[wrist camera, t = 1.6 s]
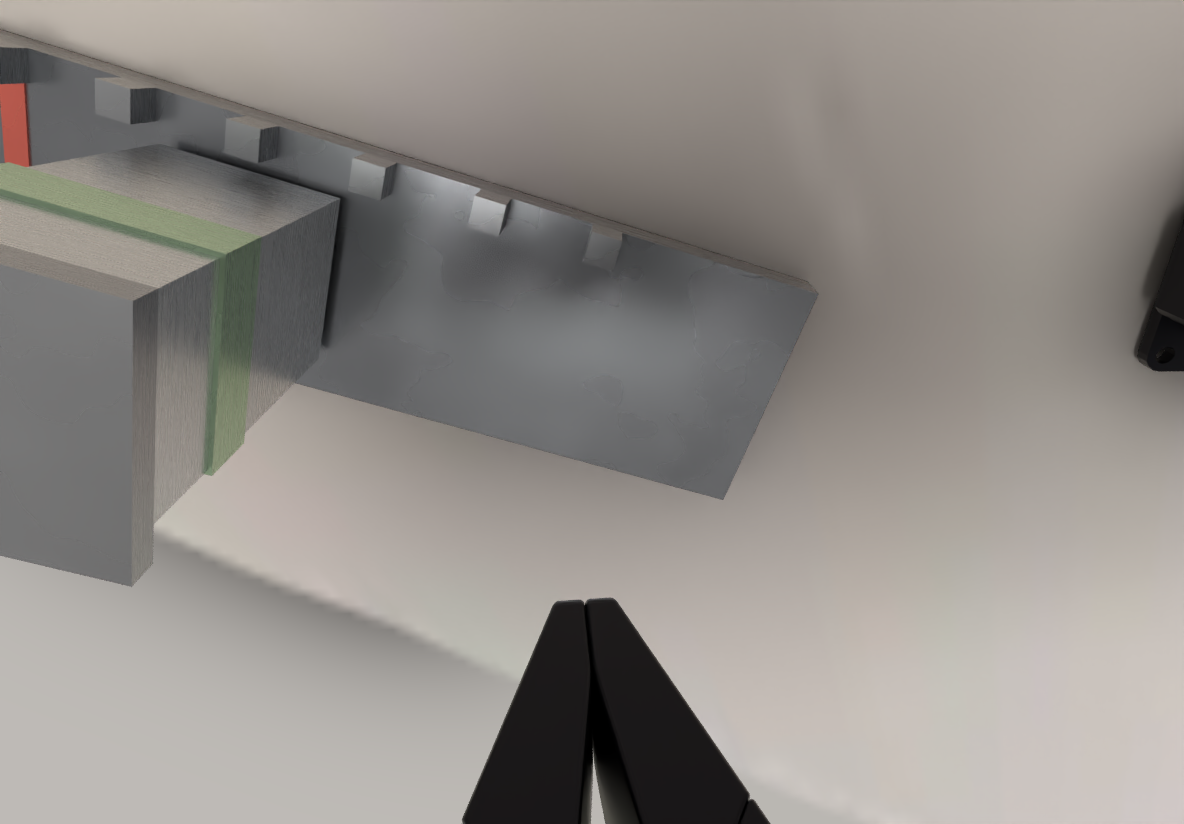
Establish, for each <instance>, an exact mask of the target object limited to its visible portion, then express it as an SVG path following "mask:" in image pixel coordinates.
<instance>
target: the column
mask: <svg viewBox="0 0 1184 824" xmlns="http://www.w3.org/2000/svg"><path fill="white" fill-rule="evenodd" d="M339 205H340V198H337V197H334V196H331V195H328V194H324V193H321V192H318V191H314V190H311V189H308V188H304V187H301V186H298V185H295V184H291V183H288V182H285V181H281V180H278V179H275V178H271V177H268V176H265V175H262V174H258V173H255V172H252V171H248V170H245V169H242V168H238V167H235V166H232V165H229V164H225V163H222V162H219V161H215V160H212V159H209V158H205V157H202V156H199V155H196V154H192V153H189V152H186V151H182V150H179V149H176V148H172V147H169V146H166V145H163V144H155V145H149V146H144V147H138V148H132V149H127V150H121V151H115V152H110V153H104V154H98V155H93V156H87V157H81V158H76V159H70V160H64V161H59V162H53V163H47V164H42V165H36V166H30V167H23V166H20V165H17V164H13V163H10V162H7V163H1V164H0V556H4V557H8V558H13V559H17V560H21V561H25V562H30V563H34V564H38V565H43V566H46V567H51V568H55V569H59V570H63V571H67V572H72V573H76V574H80V575H84V576H89V577H93V578H98V579H101V580H106V581H110V582H114V583H118V584H122V585H127V586H133V585H134V583H135V582H136V581H137V580H138V579H139V578H140V577H141V576H142V575H143V574H144V573H145V572H146V570H147V569H148V568H149V567H150V566H151V565H152V564H153V526H154V523H155V522H156V521H157V520H158V519H159V518H160V517H161V516H162V515H163V514H164V513H165V512H166V511H167V510H168V509H169V508H170V507H171V506H172V505H173V504H174V503H175V502H176V501H177V500H178V499H179V498H180V497H181V496H182V495H183V494H184V493H185V492H186V491H187V490H188V489H189V488H190V487H191V486H192V485H193V484H194V483H195V482H196V481H197V480H198V479H199V478H200V477H201V476H202V475H203V474H207V475H210V476H212V475H213V474H214V473H215V472H216V471H217V470H218V469H219V468H220V467H221V466H222V465H223V464H224V463H225V462H226V461H227V460H228V459H229V458H230V457H231V456H232V455H233V454H234V453H235V452H236V451H237V449H238V448H239V447H240V446H241V445H242V444H243V443H244V436H245V432H246V431H247V430H248V429H249V428H250V427H251V426H252V425H253V424H254V423H255V422H256V421H257V420H258V419H259V418H260V417H261V416H262V415H263V414H264V413H265V412H266V411H267V410H268V409H269V408H270V407H271V406H272V405H273V404H274V403H275V402H276V401H277V400H278V399H279V398H280V397H281V396H282V395H283V394H284V393H285V392H286V391H287V390H288V389H289V388H290V387H291V386H292V385H293V384H294V383H295V382H296V381H297V380H298V379H299V378H300V377H301V376H302V375H303V374H304V373H305V372H306V371H307V370H308V369H309V368H310V367H311V366H312V365H313V364H314V363H315V362H316V361H317V360H318V359H319V354H320V346H321V339H322V332H323V324H324V317H325V309H326V302H327V294H328V287H329V279H330V272H331V264H332V257H333V250H334V242H335V235H336V227H337V220H338V212H339Z"/></svg>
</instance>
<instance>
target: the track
mask: <svg viewBox="0 0 1184 824" xmlns="http://www.w3.org/2000/svg"><path fill="white" fill-rule="evenodd" d="M155 144H163V145H166V146H169V147H172V148H176V149H179V150H182V151H186V152H189V153H192V154H196V155H199V156H202V157H205V158H209V159H212V160H215V161H219V162H222V163H225V164H229V165H232V166H235V167H238V168H242V169H245V170H248V171H252V172H255V173H258V174H262V175H265V176H268V177H271V178H275V179H278V180H281V181H285V182H288V183H291V184H295V185H298V186H301V187H304V188H308V189H311V190H314V191H318V192H321V193H324V194H328V195H331V196H334V197H337V198H340V205H339V212H338V220H337V227H336V235H335V242H334V250H333V257H332V264H331V272H330V279H329V287H328V294H327V302H326V309H325V317H324V324H323V332H322V339H321V346H320V354H319V359H318V360H317V361H316V362H315V363H314V364H313V365H312V366H311V367H310V368H309V369H308V370H307V371H306V372H305V373H304V374H303V375H302V376H301V377H300V378H299V379H298V380H297V381H296V382H295V383H297V384H301V385H304V386H308V387H312V388H315V389H319V390H323V391H326V392H330V393H334V394H337V395H341V396H345V397H348V398H352V399H356V400H359V401H363V402H367V403H370V404H374V405H378V406H381V407H385V408H389V409H392V410H396V411H400V412H403V413H407V414H411V415H414V416H418V417H422V418H425V419H429V420H433V421H436V422H440V423H444V424H447V425H451V426H454V427H458V428H462V429H465V430H469V431H473V432H476V433H480V434H484V435H487V436H491V437H495V438H498V439H502V440H506V441H509V442H513V443H517V444H520V445H524V446H528V447H531V448H535V449H539V450H542V451H546V452H550V453H553V454H557V455H561V456H564V457H568V458H572V459H575V460H579V461H583V462H586V463H590V464H594V465H597V466H601V467H605V468H608V469H612V470H616V471H619V472H623V473H627V474H630V475H634V476H638V477H641V478H645V479H649V480H652V481H656V482H659V483H663V484H667V485H670V486H674V487H678V488H681V489H685V490H689V491H692V492H696V493H700V494H703V495H707V496H711V497H714V498H718V499H722V500H723V499H724V497H725V495H726V493H727V490H728V488H729V486H730V484H731V482H732V480H733V477H734V475H735V473H736V471H737V469H738V467H739V465H740V462H741V460H742V458H743V456H744V454H745V452H746V449H747V447H748V445H749V443H750V441H751V439H752V436H753V434H754V432H755V430H756V428H757V426H758V423H759V421H760V419H761V417H762V415H763V413H764V410H765V408H766V406H767V404H768V402H769V400H770V397H771V395H772V393H773V391H774V389H775V387H776V384H777V382H778V380H779V378H780V376H781V374H782V371H783V369H784V367H785V365H786V363H787V361H788V358H789V356H790V354H791V352H792V350H793V348H794V345H795V343H796V341H797V339H798V337H799V335H800V332H801V330H802V328H803V326H804V324H805V322H806V319H807V317H808V315H809V313H810V311H811V309H812V306H813V304H814V302H815V300H816V298H817V296H818V293H817V292H816V291H815V290H814V289H813V287H812V286H811V285H810V284H809V283H808V282H807V281H804V280H801V279H797V278H794V277H791V276H788V275H785V274H781V273H778V272H775V271H772V270H769V269H765V268H762V267H759V266H756V265H753V264H749V263H746V262H743V261H740V260H737V259H733V258H730V257H727V256H724V255H721V254H717V253H714V252H711V251H708V250H705V249H701V248H698V247H695V246H692V245H689V244H685V243H682V242H679V241H676V240H673V239H669V238H666V237H663V236H660V235H657V234H653V233H650V232H647V231H644V230H641V229H637V228H634V227H631V226H628V225H625V224H621V223H618V222H615V221H612V220H609V219H605V218H602V217H599V216H596V215H593V214H589V213H586V212H583V211H580V210H577V209H573V208H570V207H567V206H564V205H561V204H557V203H554V202H551V201H548V200H545V199H541V198H538V197H535V196H532V195H529V194H525V193H522V192H519V191H516V190H513V189H509V188H506V187H503V186H500V185H497V184H493V183H490V182H487V181H484V180H481V179H477V178H474V177H471V176H468V175H465V174H461V173H458V172H455V171H452V170H449V169H445V168H442V167H439V166H436V165H433V164H429V163H426V162H423V161H420V160H417V159H413V158H410V157H407V156H404V155H401V154H397V153H394V152H391V151H388V150H385V149H381V148H378V147H375V146H372V145H369V144H365V143H362V142H359V141H356V140H353V139H349V138H346V137H343V136H340V135H337V134H333V133H330V132H327V131H324V130H321V129H317V128H314V127H311V126H308V125H305V124H301V123H298V122H295V121H292V120H289V119H285V118H282V117H279V116H276V115H273V114H269V113H266V112H263V111H260V110H257V109H253V108H250V107H247V106H244V105H241V104H237V103H234V102H231V101H228V100H225V99H221V98H218V97H215V96H212V95H209V94H205V93H202V92H199V91H196V90H193V89H189V88H186V87H183V86H180V85H177V84H173V83H170V82H167V81H164V80H161V79H157V78H154V77H151V76H148V75H145V74H141V73H138V72H135V71H132V70H129V69H125V68H122V67H119V66H116V65H113V64H110V63H106V62H103V61H100V60H97V59H94V58H90V57H87V56H84V55H81V54H78V53H74V52H71V51H68V50H65V49H62V48H58V47H55V46H52V45H49V44H46V43H42V42H39V41H36V40H33V39H30V38H26V37H23V36H20V35H17V34H14V33H10V32H7V31H4V30H1V29H0V164H1V163H7V162H10V163H13V164H17V165H20V166H23V167H30V166H36V165H42V164H47V163H53V162H59V161H64V160H70V159H76V158H81V157H87V156H93V155H98V154H104V153H110V152H115V151H121V150H127V149H132V148H138V147H144V146H149V145H155Z"/></svg>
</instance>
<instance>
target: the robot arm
mask: <svg viewBox="0 0 1184 824" xmlns="http://www.w3.org/2000/svg"><path fill="white" fill-rule="evenodd" d="M1163 348H1165V351H1164V352H1163V354H1162V355H1161V356H1159V357H1158V358H1156V355H1157V354H1158V352H1159V351H1160V350H1162V349H1163ZM1138 359H1139V362H1141V363H1142V364H1143V365H1145V366H1147V367H1148V368H1150V369H1152V370H1154V371H1184V221H1183V224H1182V226H1181V229H1180V232H1179V235H1178V238H1177V241H1176V244H1175V246H1174V249H1173V252H1172V255H1171V258H1170V261H1169V264H1168V267H1167V269H1166V272H1165V275H1164V278H1163V281H1162V284H1161V287H1160V290H1159V292H1158V295H1157V298H1156V301H1155V304H1154V307H1153V310H1152V313H1151V316H1150V318H1149V321H1148V324H1147V327H1146V330H1145V333H1144V336H1143V339H1142V341H1141V344H1140V347H1139V350H1138ZM593 754H594V764H595V770H596V776H597V782H598V787H599V793H600V798H601V803H602V808H603V813H604V819H605V823H606V824H770V822H769V821H768V819H767V818H766V817H765V815H764V814H763V812H762V811H761V809H760V808H759V806H758V805H757V803H756V802H755V801H754V800H753V799H750V794H749V792H748V791H747V789H746V788H745V786H744V785H743V784H742V782H741V781H740V779H739V778H738V776H737V775H736V773H735V772H734V770H733V769H732V768H731V766H730V765H729V763H728V762H727V760H726V759H725V757H724V756H723V755H722V753H721V752H720V750H719V749H718V747H717V746H716V744H715V743H714V741H713V740H712V739H711V737H710V736H709V734H708V733H707V731H706V730H705V728H704V727H703V726H702V724H701V723H700V721H699V720H698V718H697V717H696V715H695V714H694V712H693V711H692V710H691V708H690V707H689V705H688V704H687V702H686V701H685V699H684V698H683V697H682V695H681V694H680V692H679V691H678V689H677V688H676V686H675V685H674V683H673V682H672V681H671V679H670V678H669V676H668V675H667V673H666V672H665V670H664V669H663V668H662V666H661V665H660V663H659V662H658V660H657V659H656V657H655V656H654V654H653V653H652V652H651V650H650V649H649V647H648V646H647V644H646V643H645V641H644V640H643V639H642V637H641V636H640V634H639V633H638V631H637V630H636V628H635V627H634V625H633V624H632V623H631V621H630V620H629V618H628V617H627V615H626V614H625V612H624V611H623V610H622V608H621V607H620V605H619V604H618V602H617V601H616V600H615V599H613V598H599V599H589V600H587V601H586V603H585V605H584V602H583V601H581V600H568V601H557V602H556V603H554V605H553V606H552V608H551V611H550V613H549V616H548V618H547V620H546V623H545V625H544V627H543V630H542V632H541V634H540V637H539V639H538V641H537V644H536V646H535V648H534V651H533V653H532V656H531V658H530V660H529V663H528V665H527V667H526V670H525V672H524V674H523V677H522V679H521V681H520V684H519V686H518V689H517V691H516V693H515V696H514V698H513V700H512V703H511V705H510V708H509V710H508V712H507V714H506V717H505V719H504V722H503V724H502V726H501V729H500V731H499V733H498V736H497V738H496V740H495V743H494V745H493V748H492V750H491V752H490V755H489V757H488V759H487V762H486V764H485V766H484V769H483V771H482V773H481V776H480V778H479V781H478V783H477V785H476V788H475V790H474V792H473V794H472V797H471V799H470V802H469V804H468V806H467V809H466V811H465V813H464V816H463V818H462V822H463V824H591V805H592V784H593ZM749 799H750V800H749Z"/></svg>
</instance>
